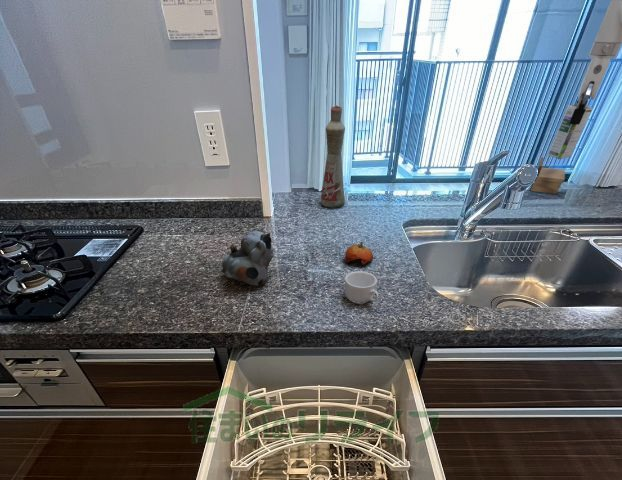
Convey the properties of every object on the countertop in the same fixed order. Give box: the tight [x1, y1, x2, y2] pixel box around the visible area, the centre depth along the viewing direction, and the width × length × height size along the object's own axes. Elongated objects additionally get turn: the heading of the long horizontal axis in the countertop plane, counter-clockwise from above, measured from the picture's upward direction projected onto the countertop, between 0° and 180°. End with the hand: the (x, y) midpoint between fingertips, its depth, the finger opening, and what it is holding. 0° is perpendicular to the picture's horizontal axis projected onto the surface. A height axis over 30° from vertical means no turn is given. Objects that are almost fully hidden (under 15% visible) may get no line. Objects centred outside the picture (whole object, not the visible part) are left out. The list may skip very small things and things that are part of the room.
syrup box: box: [547, 103, 594, 160], centre depth 129 cm, size 6×6×14 cm
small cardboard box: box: [530, 157, 566, 195], centre depth 140 cm, size 10×12×8 cm
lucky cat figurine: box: [220, 230, 275, 287], centre depth 95 cm, size 15×12×14 cm
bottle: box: [320, 104, 346, 209], centre depth 122 cm, size 9×9×28 cm
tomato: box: [344, 241, 374, 266], centre depth 103 cm, size 8×7×7 cm
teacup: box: [344, 270, 380, 305], centre depth 89 cm, size 10×8×5 cm
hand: (574, 121), depth 127 cm, fingers closed on syrup box, 8 cm apart
